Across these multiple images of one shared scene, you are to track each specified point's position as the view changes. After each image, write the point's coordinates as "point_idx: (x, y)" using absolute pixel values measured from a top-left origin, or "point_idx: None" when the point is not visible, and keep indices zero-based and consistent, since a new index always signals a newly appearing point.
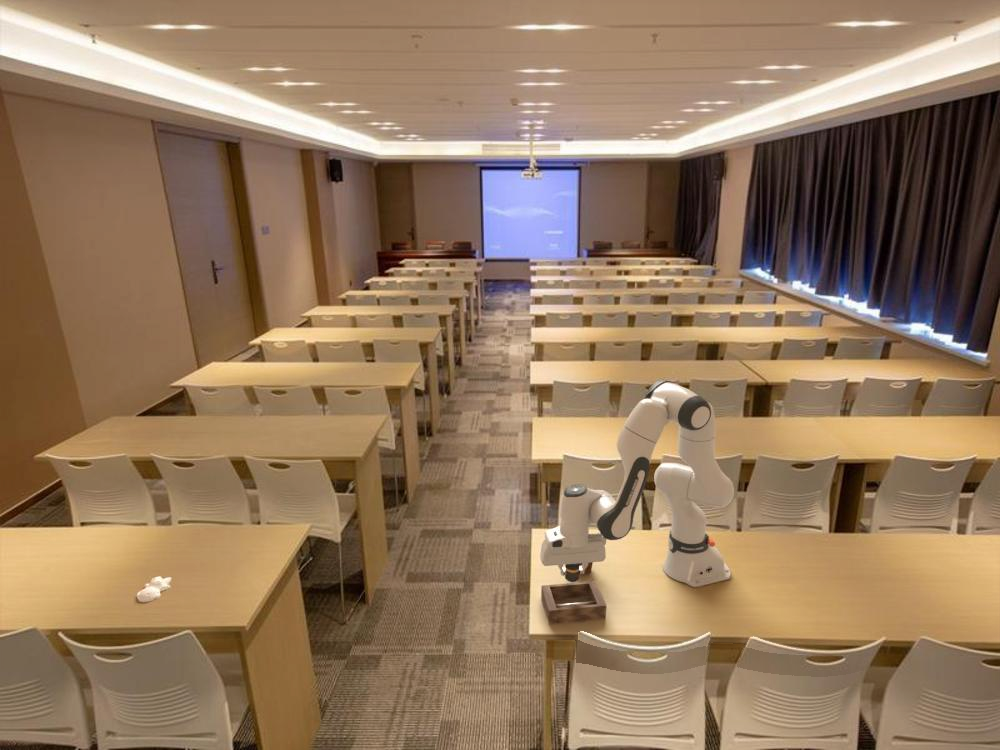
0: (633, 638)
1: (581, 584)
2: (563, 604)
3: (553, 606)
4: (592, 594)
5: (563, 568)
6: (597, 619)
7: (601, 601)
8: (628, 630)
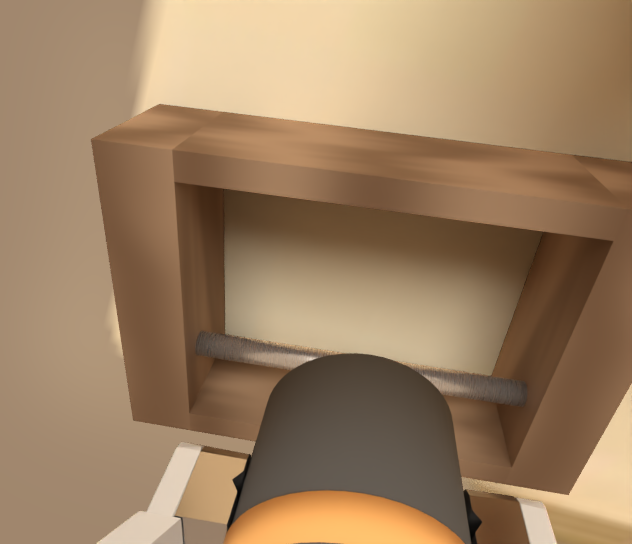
0: (589, 533)
1: (523, 225)
2: (264, 363)
3: (171, 397)
4: (554, 337)
5: (195, 529)
6: None
7: (560, 458)
8: (605, 495)
